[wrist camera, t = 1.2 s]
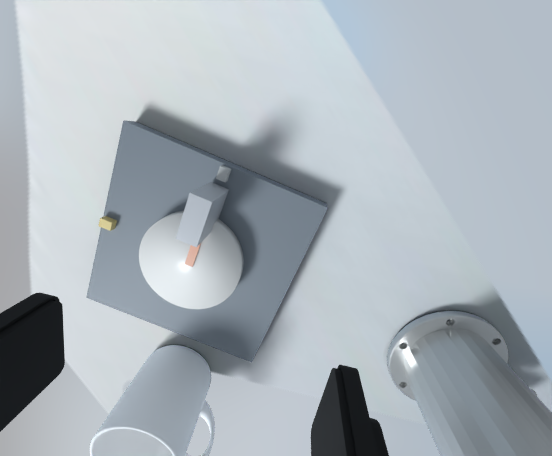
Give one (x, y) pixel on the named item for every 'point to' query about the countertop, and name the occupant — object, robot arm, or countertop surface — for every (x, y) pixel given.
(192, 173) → the panel
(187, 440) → the mug
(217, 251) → the dial
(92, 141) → the countertop surface
